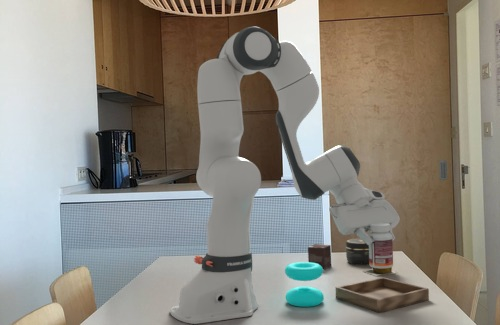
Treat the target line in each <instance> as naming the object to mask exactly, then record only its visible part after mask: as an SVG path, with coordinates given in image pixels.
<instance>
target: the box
mask: <svg viewBox="0 0 500 325" xmlns="http://www.w3.org/2000/svg"><path fill="white" fill-rule="evenodd" d="M331 248H332V246H331V244H320V243H319V244H318V243H315V244H312V245H310V246H308V247H307V258H308V260H307V262H312V263H317V264H319V265H321V266H322V268H323V270H326V269H328V268H331V266H332V251H331Z"/></svg>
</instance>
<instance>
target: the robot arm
mask: <svg viewBox="0 0 500 325" xmlns="http://www.w3.org/2000/svg"><path fill="white" fill-rule="evenodd" d="M197 72H198V73H197V86H196V87H197V88H196V89H197V92H196V93H197V94H196V95H197V96H196V97H197V107H198V116H199V118H198V119H199V128H200V129H199V130H200V131H199V132H200V145H199V158H198V167H197V170H196V174H195V175H196V176H195V178H196V184H197V185H198V187H199V188H200V189H201V190H202V192H204V193H205V194H206V195H207V196H209V197H212V203H211V204H212V205H211V209H210V210H211V211H210V215H209V217H208V220H207V222H206V243H207V244H206V245H207V246H206V247H207V253H206V254H205V255H204V256H200V255H195V257H193V261H194V263H195V264H198V265H201V269H200V270H199V271H198V272H197V273H196V274H195V275H194V276H193V277H192V278H191V279H189V281H187V282H186V283H185V284H184V285H182V287H181V290H180V293H179V299H178V300H179V301H178V304H177V305H174V306H171V307H170V312H169V313H170V315H171V316H172V317H173V318H175V319H177V320H178V321H180V322H183V323H187V324H192V325H193V324H194V325H197V324H204V323H211V322H218V321H224V320H230V319H238V318H247V317H250V316H252V315H253V314H254V311H256V310H257V309H258V308H259V304H258V301H257V298H256V294H255V289H254V283H253V274H252V272H253V253H252V250H251V227H250V226H251V225H250V224H251V216H252V211H253V204H254V200H255V196H256V194H257V193H258V191H259V189H260V187H261V184H262V175H261V172H260V169H259V168H258V166H257V165H256V164H255V163H254V162H252V161H250V160H248V159H246V158H244V157H240V156H239V153H240V152H239V151H240V146H241V145H240V144H241V140H242V136H243V134H244V129H245V128H244V119H243V118H244V117H243V106H242V98H241V91H240V88H241V81H242V78H245V77H246V76H248V75H253V74H255V73H257V72H260V73H262V74H263V75H264V76H265V77H267V79H268V80H269V81H270V83H271V85H272V88H273V89H274V92H275V94H276V96H277V100H278V110H277V112H276V113H275V124H276V126H277V130H278V134H279V136H280V140H281V143H282V147H283V149H284V153H285V155H286V159H287V162H288V166H289V168H290V171H291V176H292V183H293V186H294V189H295V191H296V192H297V194H298V195H300V197H301V198H303V199H305V200H311V201H316V200H317V199H319V198H320V197H321V196H323V195H325V193H326V192H329V193H330V194H331V195H332V196H333V197H334V200H335V202H336V203H337V204H335V203H334V204H331V206H329V213H330V214H331V216H332V219H333V222H334V225H335V226H336V228H337V230H338V232H339V233H340V234H342V235H343V236H348V235H354V234H356V235H357V237H358V238H359V239H363V240H365V242H366V243H367V245H372V244H373V243H374V242H375V240H374V239H373V237H372V236H369V234H368V233H367V232H370V233H371V231H370V224H376V223H388V224H390V231H388V232H389V233H390V234H391V235H392V242H394V241H395V239H396V236H395V235H394V233H393V229H394V228H396V227H397V225H398V224H399V223H400V220H401V219H400V218H401V217H400V216H399V214H398V212H397V211H396V209H395V208H394V207H393V205H392V204H391V203H390V202H389V201H387V200H386V196H385V194H384V193H383V192H382V191H376V190H372V189H370V188H366V187H365V186H364V185H363V184H362V183H361V182H359V180H358V176H359V173H360V169H361V163H360V161H359V160H358V158H357V157H356V154H354V153H353V151H352V150H351V148H350V147H347V146H345V145H341V144H340V145H339V144H338V145H336V146H334V147H332V148H330V149H328V150H327V151H325V152H323V153H321V154H320V155H318V156H317V157H314V158H312V159H311V160H310V161H309V160H308V161H305V160H304V157H303V154H302V151H301V148H300V145H299V141H298V137H297V132H298V129H299V127H300V125H301V123H302V122H303V120H305V118H306V117H307V116H308V115H309V114H310V113H311V111H312V110H313V109H314V107H316V104H317V101H318V99H319V97H320V96H319V95H320V86H319V84H318V81H317V79H316V77H315V74H314V73H313V71H312V69H311V67H310V65H309V64H308V61H307V60H306V58H305V57H304V55H303V54H302V52H301V51H300V50H299V49H298V47H297V46H296V45H295V44H294V43H293V42H291V41H288V40H282V41H279V40H278V39H277V38H275V37H273V36H272V34H271V33H270V32H268V31H267V30H266V29H264V28H261V27H259V26H249V27H245V28H243V29H241V30H240V31H238V32H235V33H234V34H232V35H231V36H230V37H229V38H228V39H227V40H226V41H224V43H223V44H222V46H221V47H220V50H219V53H218V55H217V56H216V58H213V59H212V58H211V59H209V60H207V61H205V62H203V63H202V64H201V65H200V66H199V69H198V71H197Z"/></svg>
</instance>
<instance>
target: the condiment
mask: <svg viewBox="0 0 500 325" xmlns="http://www.w3.org/2000/svg"><path fill="white" fill-rule="evenodd" d="M363 272H364V273H367V274H369V275H372V276H375V277H379V276H384V275H392V274H393V275H394V274H398V272H397V271H393V266H392V267H391V268H384V269H379V268H373V267H372V269H367V270H366V269H365V270H363Z"/></svg>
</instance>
